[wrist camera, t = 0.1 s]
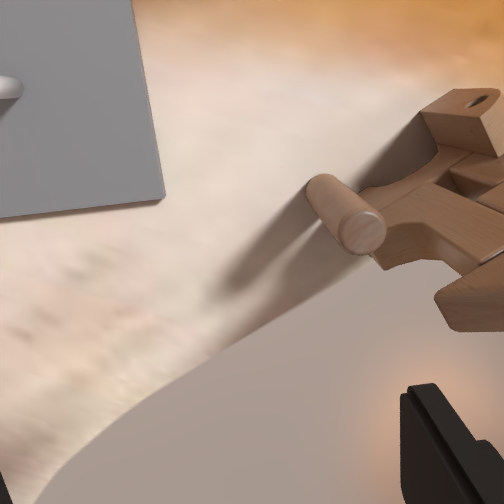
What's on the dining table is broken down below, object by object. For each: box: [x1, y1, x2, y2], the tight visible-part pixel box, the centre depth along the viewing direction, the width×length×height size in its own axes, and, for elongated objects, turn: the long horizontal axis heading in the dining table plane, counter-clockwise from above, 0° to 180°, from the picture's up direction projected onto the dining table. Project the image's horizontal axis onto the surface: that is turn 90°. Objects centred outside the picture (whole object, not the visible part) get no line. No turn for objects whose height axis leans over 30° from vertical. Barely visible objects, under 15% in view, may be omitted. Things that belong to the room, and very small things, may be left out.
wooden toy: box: [306, 88, 504, 332], centre depth 28 cm, size 16×7×25 cm, turn 124°
